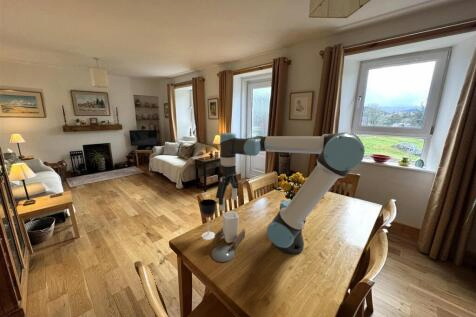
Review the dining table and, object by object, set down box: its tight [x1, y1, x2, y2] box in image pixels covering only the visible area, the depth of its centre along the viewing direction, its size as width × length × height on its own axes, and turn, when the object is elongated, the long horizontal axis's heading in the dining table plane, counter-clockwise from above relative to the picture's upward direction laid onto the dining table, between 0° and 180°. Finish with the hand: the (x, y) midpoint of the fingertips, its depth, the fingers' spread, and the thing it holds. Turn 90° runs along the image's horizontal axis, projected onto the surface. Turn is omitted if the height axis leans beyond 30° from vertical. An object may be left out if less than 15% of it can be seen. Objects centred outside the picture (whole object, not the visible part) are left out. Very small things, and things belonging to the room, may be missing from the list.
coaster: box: [211, 244, 235, 263], centre depth 92 cm, size 11×11×1 cm
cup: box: [222, 210, 240, 244], centre depth 101 cm, size 7×7×15 cm
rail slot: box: [214, 227, 246, 251], centre depth 102 cm, size 12×12×4 cm
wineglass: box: [199, 198, 217, 241], centre depth 104 cm, size 8×9×20 cm
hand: (228, 204), depth 98 cm, fingers open, 13 cm apart
